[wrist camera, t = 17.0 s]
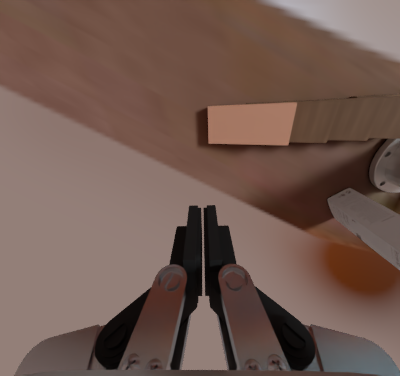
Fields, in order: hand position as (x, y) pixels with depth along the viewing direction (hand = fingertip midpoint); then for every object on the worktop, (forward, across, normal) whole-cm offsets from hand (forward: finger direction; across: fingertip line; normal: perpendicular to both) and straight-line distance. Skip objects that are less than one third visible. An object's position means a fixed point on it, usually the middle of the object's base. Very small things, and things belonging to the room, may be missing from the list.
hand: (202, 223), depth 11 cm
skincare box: (+17, -26, +11) cm, 33 cm away
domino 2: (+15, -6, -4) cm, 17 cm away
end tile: (+15, -1, -4) cm, 16 cm away
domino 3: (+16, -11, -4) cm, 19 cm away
